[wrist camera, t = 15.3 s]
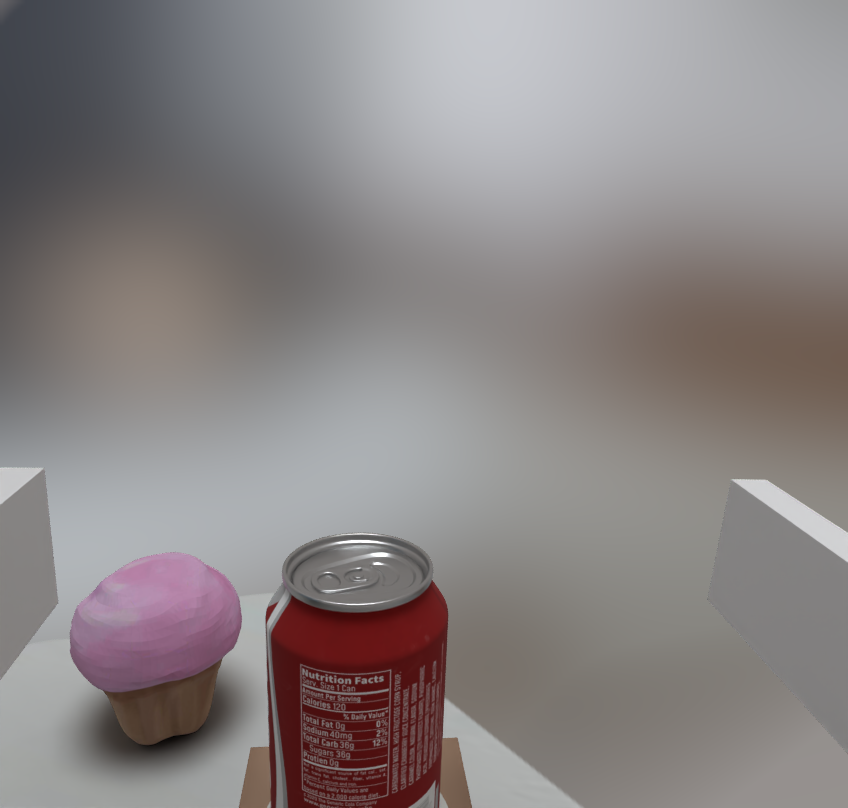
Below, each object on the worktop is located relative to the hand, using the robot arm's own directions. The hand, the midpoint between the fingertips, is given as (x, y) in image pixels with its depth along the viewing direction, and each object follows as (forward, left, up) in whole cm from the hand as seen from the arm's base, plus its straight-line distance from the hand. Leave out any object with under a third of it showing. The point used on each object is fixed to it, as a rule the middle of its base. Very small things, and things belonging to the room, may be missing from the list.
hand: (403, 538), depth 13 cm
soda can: (-1, +11, -18) cm, 21 cm away
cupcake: (-12, +23, -23) cm, 34 cm away
